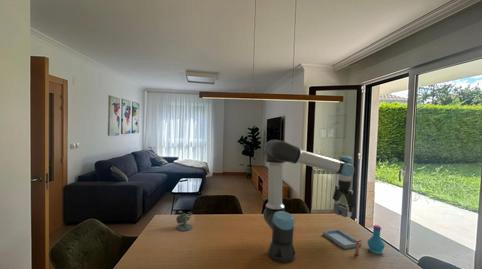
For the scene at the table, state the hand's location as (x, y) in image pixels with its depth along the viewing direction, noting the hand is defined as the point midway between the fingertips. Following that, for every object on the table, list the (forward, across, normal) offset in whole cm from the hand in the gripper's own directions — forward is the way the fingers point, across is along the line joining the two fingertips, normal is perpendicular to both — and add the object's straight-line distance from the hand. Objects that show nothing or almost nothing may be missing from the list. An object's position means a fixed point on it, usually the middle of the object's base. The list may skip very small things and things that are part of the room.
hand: (342, 213), depth 158 cm
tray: (+18, 0, 0) cm, 18 cm away
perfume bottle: (+18, -16, -11) cm, 27 cm away
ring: (0, 0, 0) cm, 0 cm away
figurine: (+18, +44, +96) cm, 107 cm away
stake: (+18, -17, +4) cm, 25 cm away
